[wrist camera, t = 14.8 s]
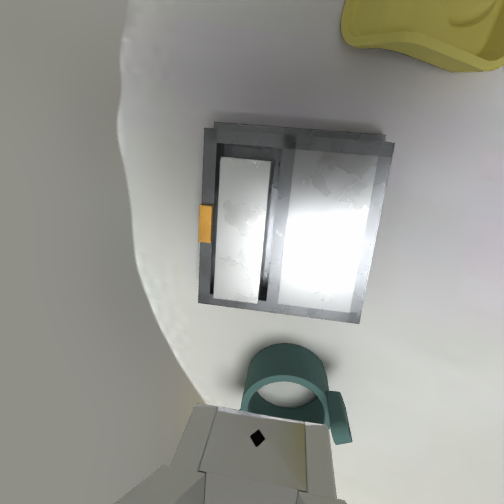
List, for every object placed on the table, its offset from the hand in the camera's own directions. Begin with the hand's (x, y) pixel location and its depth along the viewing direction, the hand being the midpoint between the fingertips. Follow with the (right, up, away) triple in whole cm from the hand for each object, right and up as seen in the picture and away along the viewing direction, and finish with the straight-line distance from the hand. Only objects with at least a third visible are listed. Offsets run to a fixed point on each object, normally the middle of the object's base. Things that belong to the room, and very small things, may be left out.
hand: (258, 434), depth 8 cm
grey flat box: (+3, +7, +22) cm, 24 cm away
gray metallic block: (0, +7, +22) cm, 23 cm away
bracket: (+4, -9, +27) cm, 29 cm away
